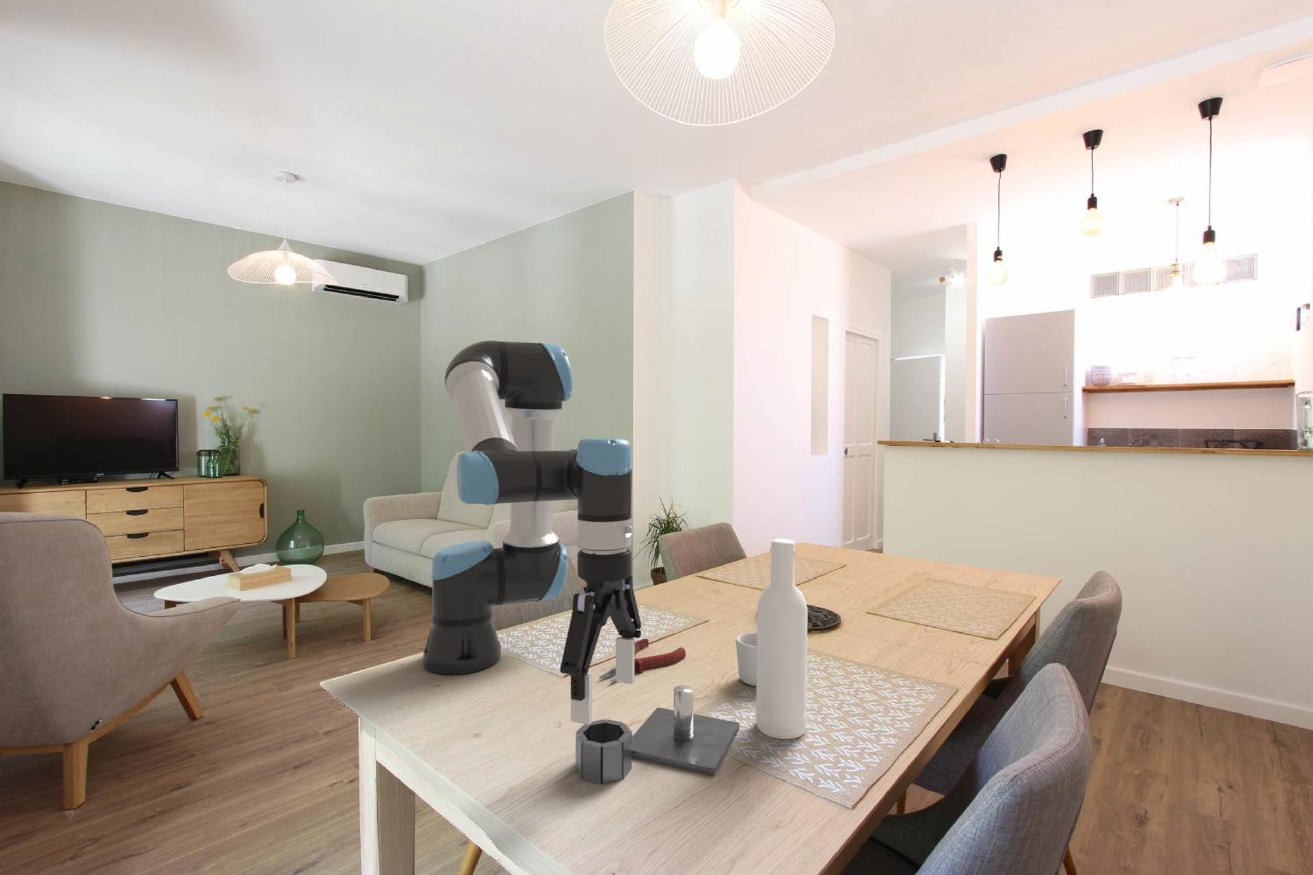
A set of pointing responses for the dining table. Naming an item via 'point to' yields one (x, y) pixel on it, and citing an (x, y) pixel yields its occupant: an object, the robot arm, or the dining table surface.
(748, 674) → the cup
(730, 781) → the dining table surface
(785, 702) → the bottle
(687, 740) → the piston jig
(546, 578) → the robot arm
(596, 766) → the ring
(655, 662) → the pliers
